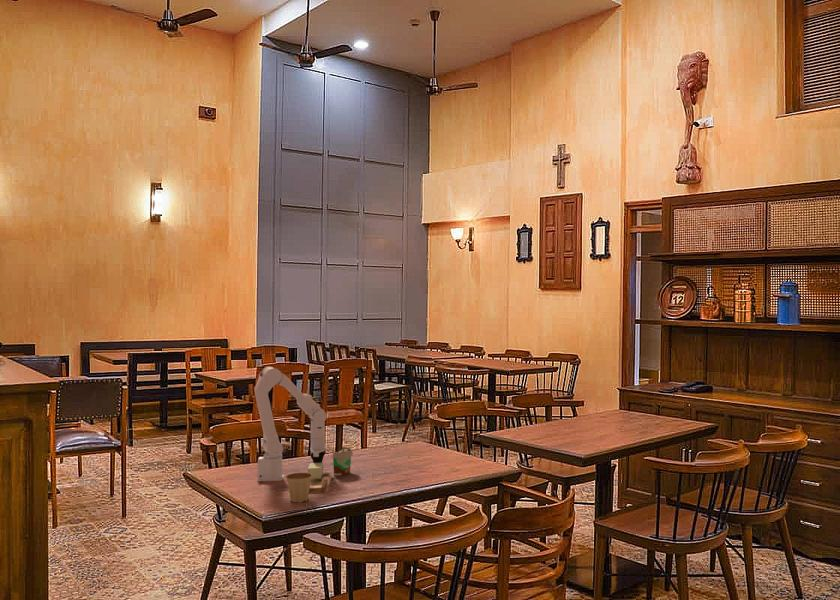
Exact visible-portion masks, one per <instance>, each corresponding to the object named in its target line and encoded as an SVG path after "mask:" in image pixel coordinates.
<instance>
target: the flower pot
mask: <svg viewBox="0 0 840 600" xmlns="http://www.w3.org/2000/svg"><path fill="white" fill-rule="evenodd" d="M312 476H313V475H312V474H310V473H308V472H294V473H293V472H292V473H289V474H287V475H285V479H286V482H287V486H288V491H289V499H290V501H291V502H293V503H304V502H307V501H308V500H309V498H310V497H309V496H310V493H309V488H310V481H311V477H312Z"/></svg>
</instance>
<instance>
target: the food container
mask: <svg viewBox="0 0 840 600" xmlns="http://www.w3.org/2000/svg"><path fill="white" fill-rule="evenodd" d="M353 455H354V454H353V450H352V448H351V447H346V446H341V449H340V450H337V451H336V452H332V459H333V460H332V462H333V463H332V464H333V477H346V476H348V475H350V474H351V465H352V463H351V462H352V456H353Z"/></svg>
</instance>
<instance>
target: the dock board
mask: <svg viewBox="0 0 840 600" xmlns="http://www.w3.org/2000/svg"><path fill="white" fill-rule="evenodd" d="M331 480H332V476H323V477H322V481H319V479H311V481H310V488H309V494H311V493H312V494H313V493H315V494H316V493H323V494H324V493H328V489H329V487H330V484H331Z"/></svg>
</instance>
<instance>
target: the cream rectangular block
mask: <svg viewBox="0 0 840 600" xmlns="http://www.w3.org/2000/svg"><path fill="white" fill-rule="evenodd" d="M307 473H310V474H312V475H313V476H312V477H311V479H319V481H322V477H324V462H322V463H313V462H310V463H309V465H308V467H307Z"/></svg>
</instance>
